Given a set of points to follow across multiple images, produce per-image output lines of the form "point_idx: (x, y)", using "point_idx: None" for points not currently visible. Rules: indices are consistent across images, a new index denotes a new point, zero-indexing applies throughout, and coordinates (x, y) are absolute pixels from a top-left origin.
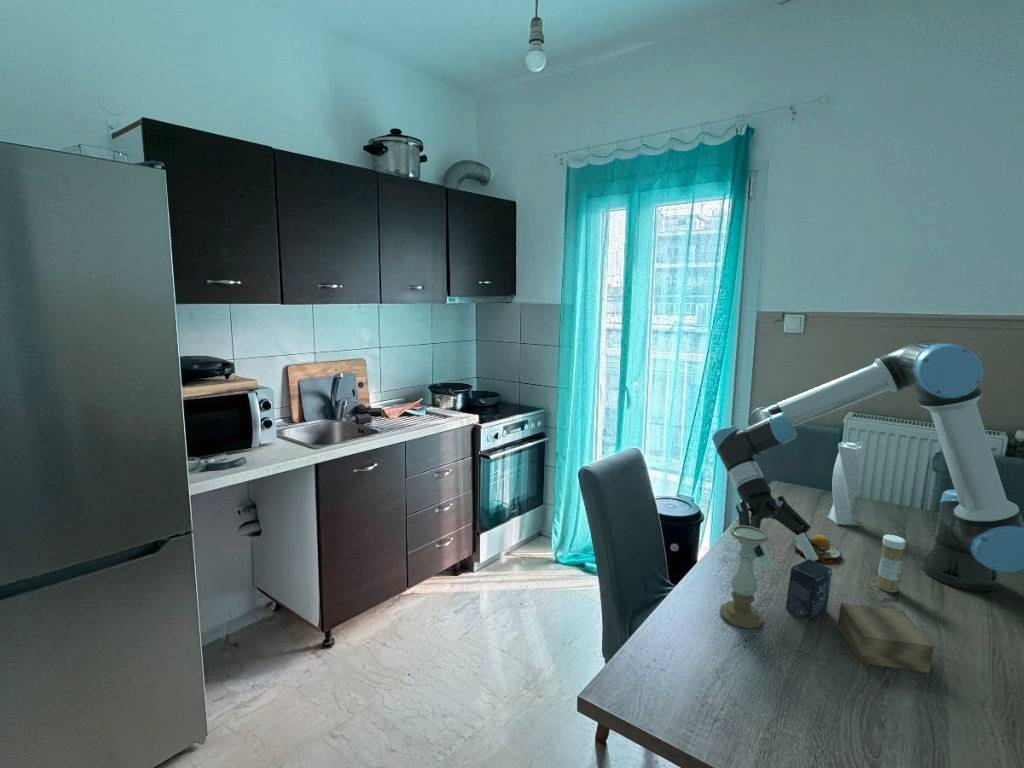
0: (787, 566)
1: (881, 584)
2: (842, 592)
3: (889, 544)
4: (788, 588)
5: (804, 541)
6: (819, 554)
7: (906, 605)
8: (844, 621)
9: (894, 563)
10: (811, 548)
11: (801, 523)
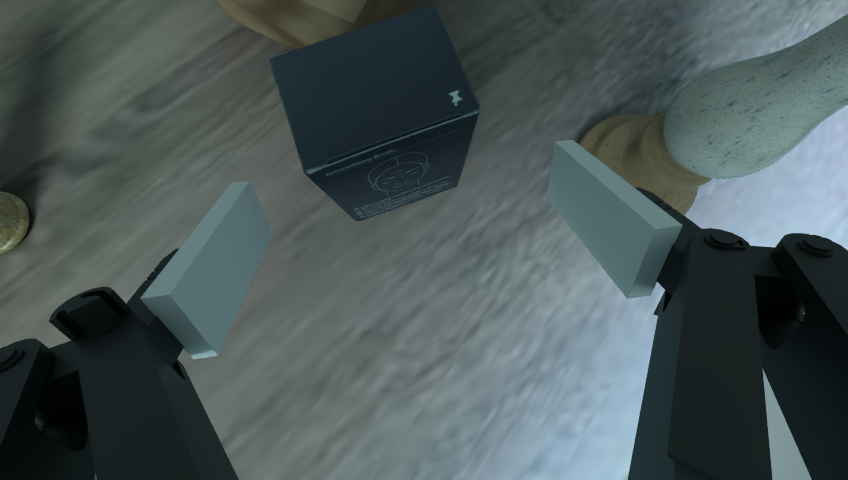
0: (228, 442)
1: (8, 218)
2: (184, 233)
3: None
4: (464, 159)
5: (212, 263)
6: None
7: (50, 128)
8: (381, 19)
9: None
10: (218, 214)
11: (31, 405)
